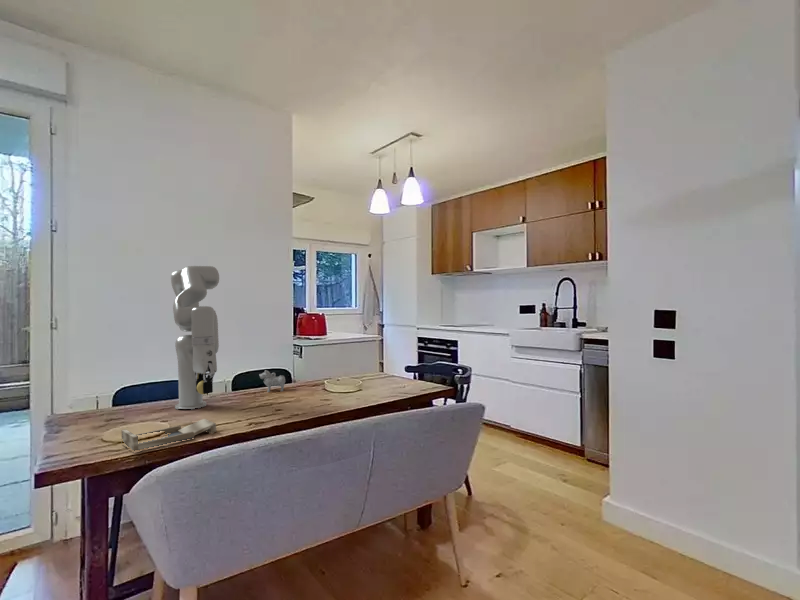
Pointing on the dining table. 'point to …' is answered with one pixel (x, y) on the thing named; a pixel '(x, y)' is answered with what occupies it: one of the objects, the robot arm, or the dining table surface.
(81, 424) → the dining table surface
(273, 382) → the grey dog figurine
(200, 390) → the ball
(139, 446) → the grey tray
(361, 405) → the dining table surface
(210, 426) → the ramp
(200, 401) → the robot arm
